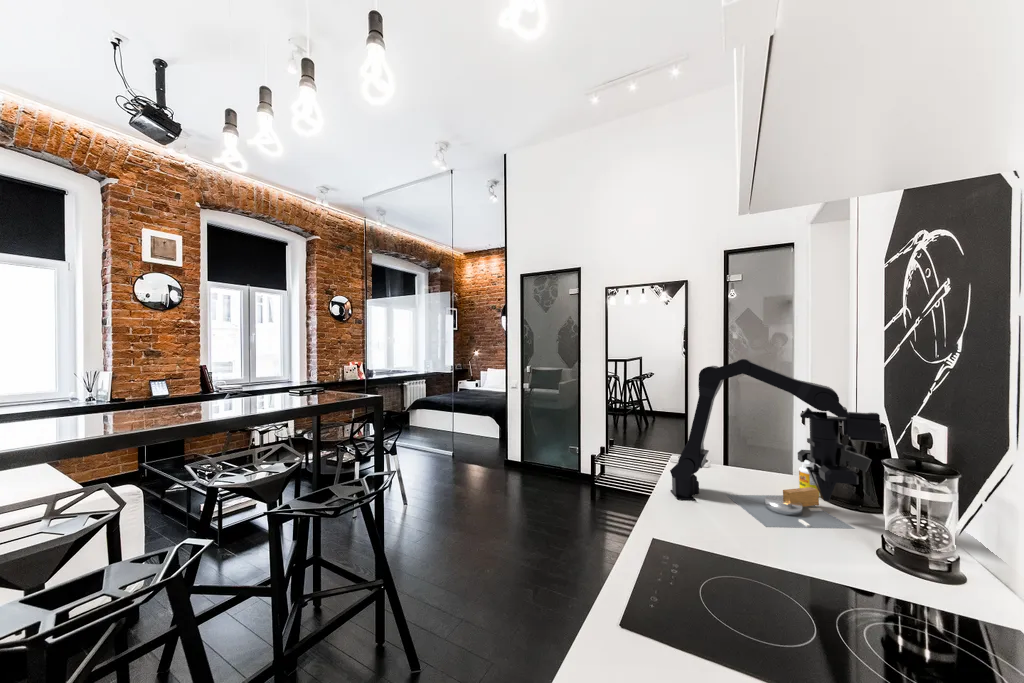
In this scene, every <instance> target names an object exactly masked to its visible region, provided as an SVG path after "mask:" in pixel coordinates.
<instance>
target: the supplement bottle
mask: <svg viewBox="0 0 1024 683" xmlns="http://www.w3.org/2000/svg"><path fill="white" fill-rule="evenodd" d="M806 467H810V462H809V461H808V460H805V461H804V462H801V466H800V467H799V468H798V479H799V480H798V483H799V484H798V485H799V488H807V487H812V488H815V489H817V487H816V485H815V483H814V481H813V479H812V477H811V476H810V474H809V472H808V470H807V469H806ZM818 492H819V491H818ZM819 498H822V497H821V495H820V493H819Z"/></svg>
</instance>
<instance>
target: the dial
mask: <svg viewBox="0 0 1024 683" xmlns="http://www.w3.org/2000/svg"><path fill="white" fill-rule="evenodd" d="M782 495H783V497H781V496H768V497H766V498H765V507H766V508H767V509H768V510H770V511H772V512H774V513H777V514H781V515H786V516H800V515H802V514H803V511H802V507H804V506H813V505H815V506H819V505H820V502H819V500H820V497H819V492H818V489H815V488H812V487H807V488H789V489H783V490H782Z"/></svg>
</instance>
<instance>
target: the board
mask: <svg viewBox="0 0 1024 683" xmlns="http://www.w3.org/2000/svg"><path fill="white" fill-rule="evenodd" d="M768 496H781V497H783V494H782V495H778V494H777V495H776V494H774V495H772V494H771V495H769V494H768V495H767V494H765V495H764V494H761V495H760V494H756V495H755V494H726V497H727V498H729V499H730V500H732V501H733V502H734V503H735V504H737V505H738V506H739V507H740V508H741V509H742V510H745V512H746V513H748V515H751V517H752V518H754V519H755V520H756V521H758V522H759V523H760V524H762V525H763V526H764V527H765V528H784V529H785V528H789V529H790V528H791V529H792V528H795V529H803V528H804V529H856V528H855V527H853V526H852V525H850V524H848V523H846V522H844V521H843V520H841V519H840V518H837V517H836V516H834V515H832V514H831V513H830V512H828V511H826V510H824V509H823V508H821V507H819V506H818V505H813V506H804V507H802V511H803V514H802V515H800V516H786V515H781V514H777V513H774V512H772V511H770V510H768V509H767V508H766V507H765V498H766V497H768Z"/></svg>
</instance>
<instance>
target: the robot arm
mask: <svg viewBox="0 0 1024 683" xmlns="http://www.w3.org/2000/svg"><path fill="white" fill-rule="evenodd" d="M739 375H740V376H741V375H745V376H748V377H750V378H753V379H755V380H757V381H760V382H763V383H765V384H768V385H770V386H772V387H775V388H777V389H780V390H782V391H784V392H787V393H789V394H791V395H793V396H795V397H796V398H797V399H799V400H801V401H802V402H803V403H805V404H807V405H809V406H811V407H812V408H813V409H815V411H814V410H812V409H811V408H809V407H807V408H805V410H804V411H802V412H801V413H800V414H799V416H800V418H801V419H808V420H809V438H808V437H806V442H807V443H808V444H809V449H801V450H799V451H798V452H797V460H798V461H799V462H800V463H802V462H804V461H805V460H807V461H809V462H810V467H806V469H807V470H808V472H809V474H810V476H811V477H812V479H813V481H814V483H815V485H816V487H817V489H818V491H819V493H820V495H821V497H820V498H821V499H822V500H823V501H825V502H830V501H831V500H830V499H831V496H832V494H833V492H834V490H835V487H836V485H837V484H847V485H859V484H860V483H859V477H860V476H859V475H858V474H857V473H856V472H854V471H853V470H852V469H851V468H849V467H847V465H849V466H851V467H853V468H856V469H859V470H860V471H862V472H865V473H867V471H868V469H869V467H870V465H871V462H872V461H873V460H872V459H871V458H869V457H867V456H865V455H863V454H861V453H858V452H857V448H855V447H854V446H851V445H848V444H846V445H844V444H843V443H841V441H840V440H841V439H840V422H842V423H841V424H842V425H841V426H842V435H843V436H846V437H847V438H848V440H850V441H856V442H857V441H858V442H859V441H860V442H869V443H879V444H882V443H883V437H884V436H883V434H884V433H883V429H882V424H881V419H880V414H879V413H878V412H856V411H848V409H847V407H845V406H843V405H842V404H841V402H840V397H839V395H838V393H837V391H835V390H834V389H833V388H832V387H830V386H827V385H823V384H818V383H814V382H809V381H805V380H801V379H797V378H794V377H791V376H789V375H786V374H784V373H781V372H779V371H776V370H773V369H771V368H768V367H766V366H763V365H761V364H759V363H755V362H753V361H751V360H750V359H748V358H741V359H739V360H737V361H734V362H731V363H729V364H725V365H722V366H717V365H710V366H706V367H703V368H702V369H701V370H699V373H698V385H697V386H698V399H697V404H696V407H695V408H696V409H695V411H694V415H693V416H694V417H693V419H692V425H691V428H690V432H689V437H688V441H687V443H686V444H685V446H684V448H683V450H682V452H681V453H680V455H679V458H678V460H677V463H676V464H675V465H674V466H673V467H672V468H670V470H669V472H670V474H671V489H669V490H670V493H671V494H672V495H673V496H674V498H675V499H677V500H688V501H689V500H692V501H693V500H696V498H695V497H694V496H695V495H700V481H698V477H697V475H696V473H697V472H699V470H700V469H703V468H704V466H705V464H706V463H707V456H708V454H709V449H705V446H704V445H705V444H704V441H705V438H706V435H707V434H706V433H707V430H708V427H709V423H710V418H711V415H712V411H713V406H714V402H715V399H716V396H717V394H718V393H719V391H720V389H721V388H722V384H723V383H724V381H725V380H727V379H729V378H734V377H736V376H739ZM816 410H818V411H816ZM827 412H829V413H831V414H832V415H833V416H832V415H828V413H827Z"/></svg>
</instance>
